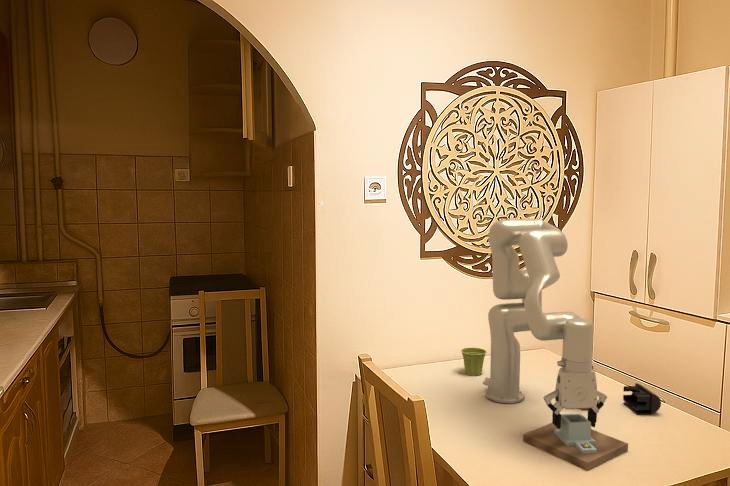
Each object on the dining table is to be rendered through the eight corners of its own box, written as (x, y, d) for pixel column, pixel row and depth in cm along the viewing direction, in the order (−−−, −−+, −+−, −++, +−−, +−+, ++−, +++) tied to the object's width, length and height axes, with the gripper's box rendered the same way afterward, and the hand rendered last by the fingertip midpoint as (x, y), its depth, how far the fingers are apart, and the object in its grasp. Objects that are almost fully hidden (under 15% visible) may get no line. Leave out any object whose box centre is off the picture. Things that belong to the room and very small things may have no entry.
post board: (523, 440, 155) (523, 418, 155) (563, 424, 165) (563, 403, 165) (587, 470, 139) (588, 445, 138) (627, 450, 149) (628, 427, 148)
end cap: (660, 415, 172) (661, 394, 171) (638, 416, 172) (639, 394, 171) (643, 403, 182) (644, 382, 181) (622, 403, 182) (623, 383, 181)
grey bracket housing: (553, 432, 156) (554, 413, 155) (581, 431, 156) (582, 411, 156) (574, 454, 143) (575, 432, 143) (604, 452, 144) (605, 431, 143)
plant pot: (460, 368, 217) (460, 346, 216) (485, 369, 215) (485, 347, 214) (461, 376, 207) (461, 354, 207) (487, 377, 206) (487, 354, 205)
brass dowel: (582, 449, 146) (582, 444, 145) (585, 448, 146) (585, 442, 146) (586, 451, 145) (586, 445, 145) (589, 450, 145) (589, 444, 145)
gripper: (551, 370, 146) (548, 433, 148) (615, 368, 147) (611, 430, 149) (539, 361, 153) (537, 421, 155) (600, 359, 154) (597, 418, 156)
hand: (574, 425), depth 152 cm, fingers open, 9 cm apart
